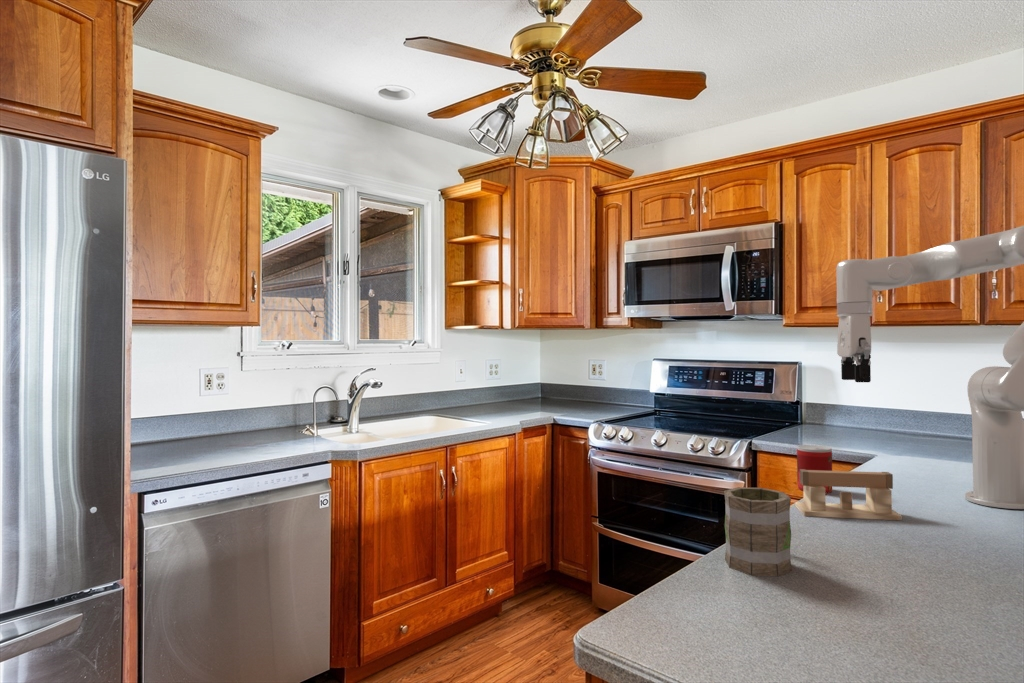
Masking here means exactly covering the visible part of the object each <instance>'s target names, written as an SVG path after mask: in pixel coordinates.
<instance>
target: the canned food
mask: <svg viewBox="0 0 1024 683" xmlns="http://www.w3.org/2000/svg"><path fill="white" fill-rule="evenodd" d="M800 469H805V470H822V471H833V449H832V447H829V446H826V445H819V444H817V445H814V444H802V445H797V446H796V471H797V472H796V474H797V475H796V477H797V488H798V490H800V491H801V492H803V485H802V484H800ZM823 487H824V488H825V495H827V494H830V493H832V490H833V487H830V486H823ZM826 493H827V494H826Z"/></svg>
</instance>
